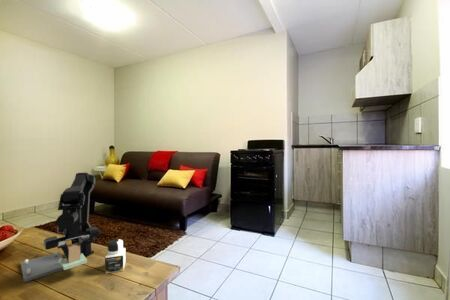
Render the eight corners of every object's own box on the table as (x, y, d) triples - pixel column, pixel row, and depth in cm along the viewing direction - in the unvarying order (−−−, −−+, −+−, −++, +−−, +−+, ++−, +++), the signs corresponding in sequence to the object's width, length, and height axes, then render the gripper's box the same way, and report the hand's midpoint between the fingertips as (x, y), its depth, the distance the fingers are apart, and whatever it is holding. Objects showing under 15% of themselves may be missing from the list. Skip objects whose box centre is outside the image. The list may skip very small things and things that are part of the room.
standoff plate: (67, 268, 97) (66, 261, 97) (24, 282, 87) (23, 274, 87) (59, 254, 109) (59, 247, 109) (20, 265, 99) (20, 258, 99)
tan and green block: (87, 262, 93) (87, 245, 92) (64, 270, 87) (63, 252, 87) (82, 255, 98) (81, 239, 98) (60, 262, 92) (59, 245, 92)
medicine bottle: (104, 273, 93) (104, 245, 92) (108, 265, 99) (108, 238, 99) (123, 271, 95) (123, 243, 94) (125, 262, 101) (125, 236, 101)
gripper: (92, 211, 104) (92, 244, 105) (41, 221, 91) (42, 258, 91) (99, 216, 97) (100, 251, 97) (45, 228, 83) (46, 269, 84)
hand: (73, 257), depth 92 cm, fingers closed on tan and green block, 4 cm apart
